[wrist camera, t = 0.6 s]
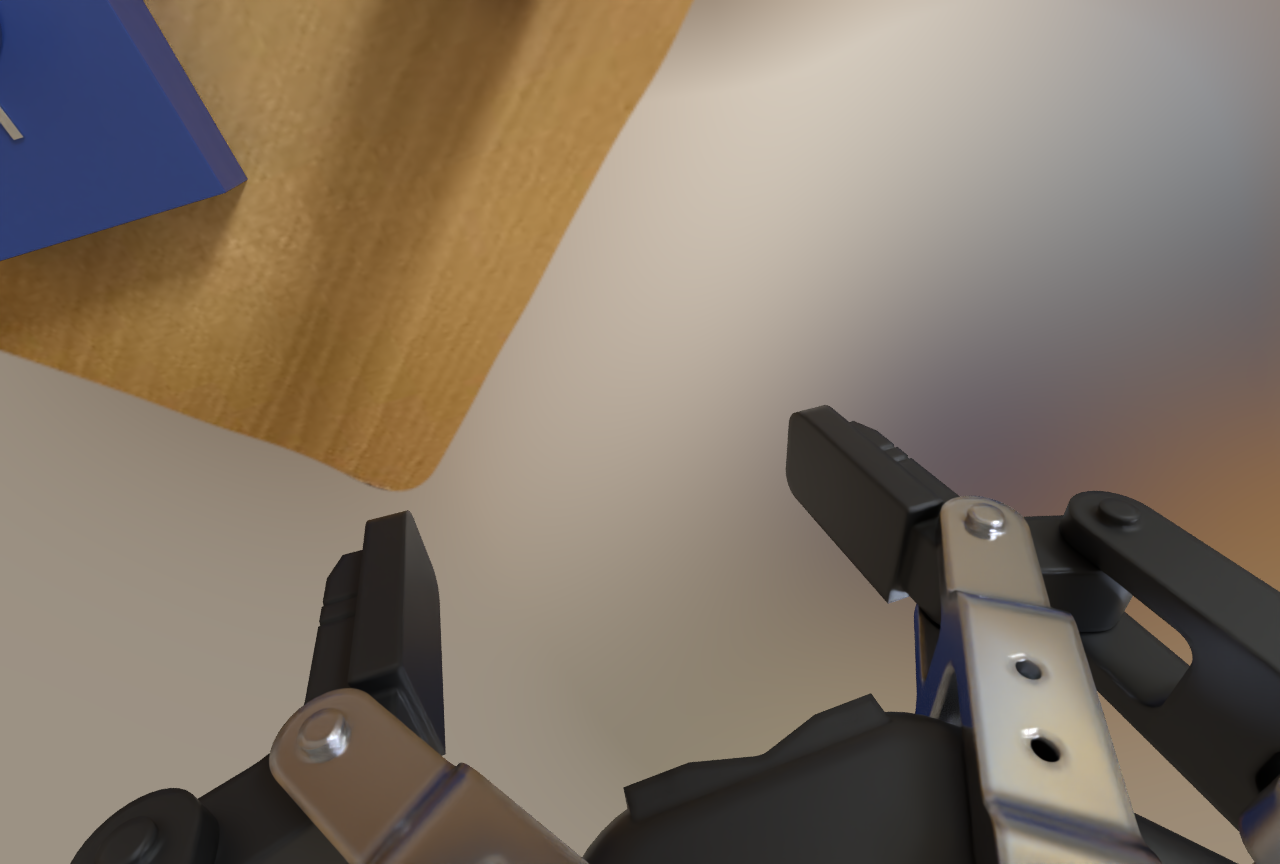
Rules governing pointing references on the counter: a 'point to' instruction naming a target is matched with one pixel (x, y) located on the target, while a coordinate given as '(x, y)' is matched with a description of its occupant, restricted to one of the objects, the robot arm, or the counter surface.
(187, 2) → the counter surface
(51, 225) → the blue knob base block
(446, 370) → the counter surface
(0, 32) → the silver pointer knob
